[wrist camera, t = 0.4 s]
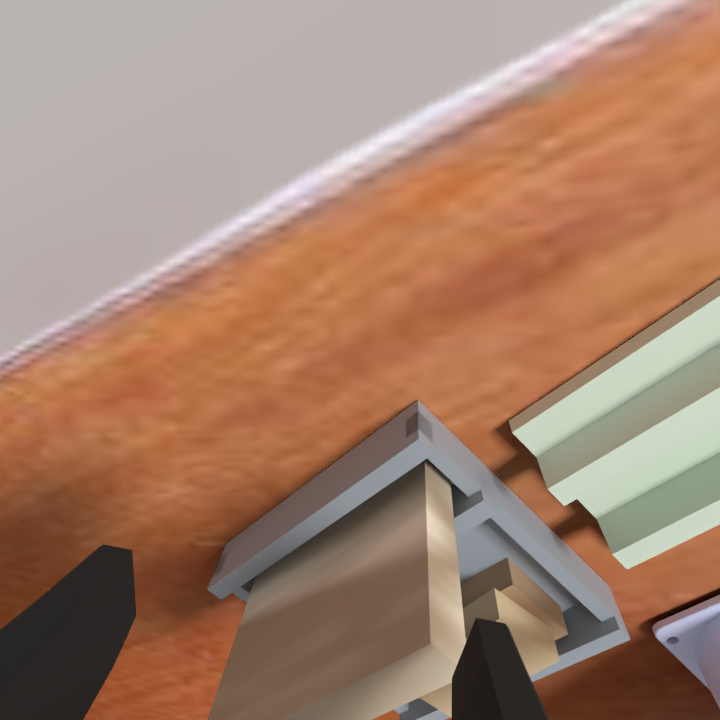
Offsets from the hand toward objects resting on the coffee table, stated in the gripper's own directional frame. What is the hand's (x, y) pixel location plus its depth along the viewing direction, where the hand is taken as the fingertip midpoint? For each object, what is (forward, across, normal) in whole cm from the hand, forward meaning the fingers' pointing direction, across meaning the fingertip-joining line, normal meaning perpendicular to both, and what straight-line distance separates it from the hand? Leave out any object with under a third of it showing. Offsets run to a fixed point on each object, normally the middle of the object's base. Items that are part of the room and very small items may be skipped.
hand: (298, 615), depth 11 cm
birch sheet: (+9, -1, +6) cm, 11 cm away
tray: (+10, -4, +9) cm, 14 cm away
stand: (+10, -13, -2) cm, 17 cm away
